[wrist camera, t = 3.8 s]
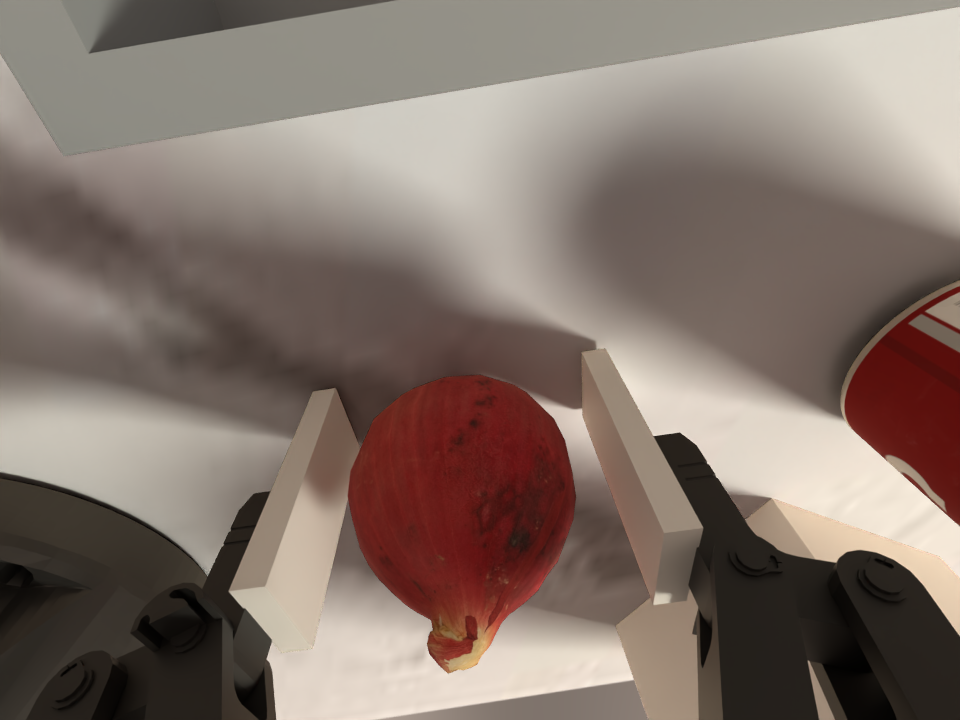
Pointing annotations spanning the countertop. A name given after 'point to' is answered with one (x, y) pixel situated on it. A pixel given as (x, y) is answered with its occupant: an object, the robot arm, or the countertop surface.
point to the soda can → (913, 396)
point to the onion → (462, 506)
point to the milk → (668, 627)
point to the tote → (346, 52)
